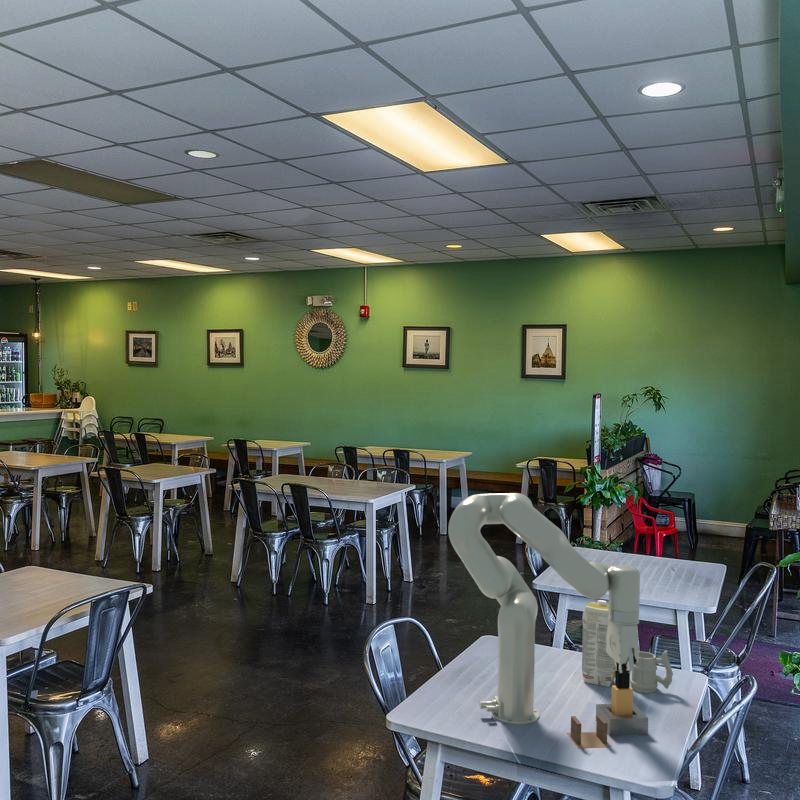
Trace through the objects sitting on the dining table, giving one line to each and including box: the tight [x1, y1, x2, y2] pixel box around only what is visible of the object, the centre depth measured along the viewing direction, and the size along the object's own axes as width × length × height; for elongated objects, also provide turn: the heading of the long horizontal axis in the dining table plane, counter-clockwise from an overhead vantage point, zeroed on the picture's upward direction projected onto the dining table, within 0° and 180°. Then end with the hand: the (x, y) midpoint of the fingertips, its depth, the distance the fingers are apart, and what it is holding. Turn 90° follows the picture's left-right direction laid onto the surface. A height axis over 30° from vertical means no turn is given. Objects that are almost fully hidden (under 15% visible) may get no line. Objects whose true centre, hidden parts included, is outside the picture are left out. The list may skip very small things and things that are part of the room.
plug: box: [610, 684, 634, 715], centre depth 189 cm, size 4×3×10 cm
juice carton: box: [581, 599, 617, 688], centre depth 222 cm, size 9×8×24 cm
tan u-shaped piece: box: [566, 715, 612, 749], centre depth 182 cm, size 8×8×6 cm
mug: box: [630, 650, 674, 694], centre depth 216 cm, size 8×12×12 cm, turn 67°
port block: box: [595, 703, 649, 737], centre depth 189 cm, size 10×9×5 cm
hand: (622, 687), depth 189 cm, fingers closed
